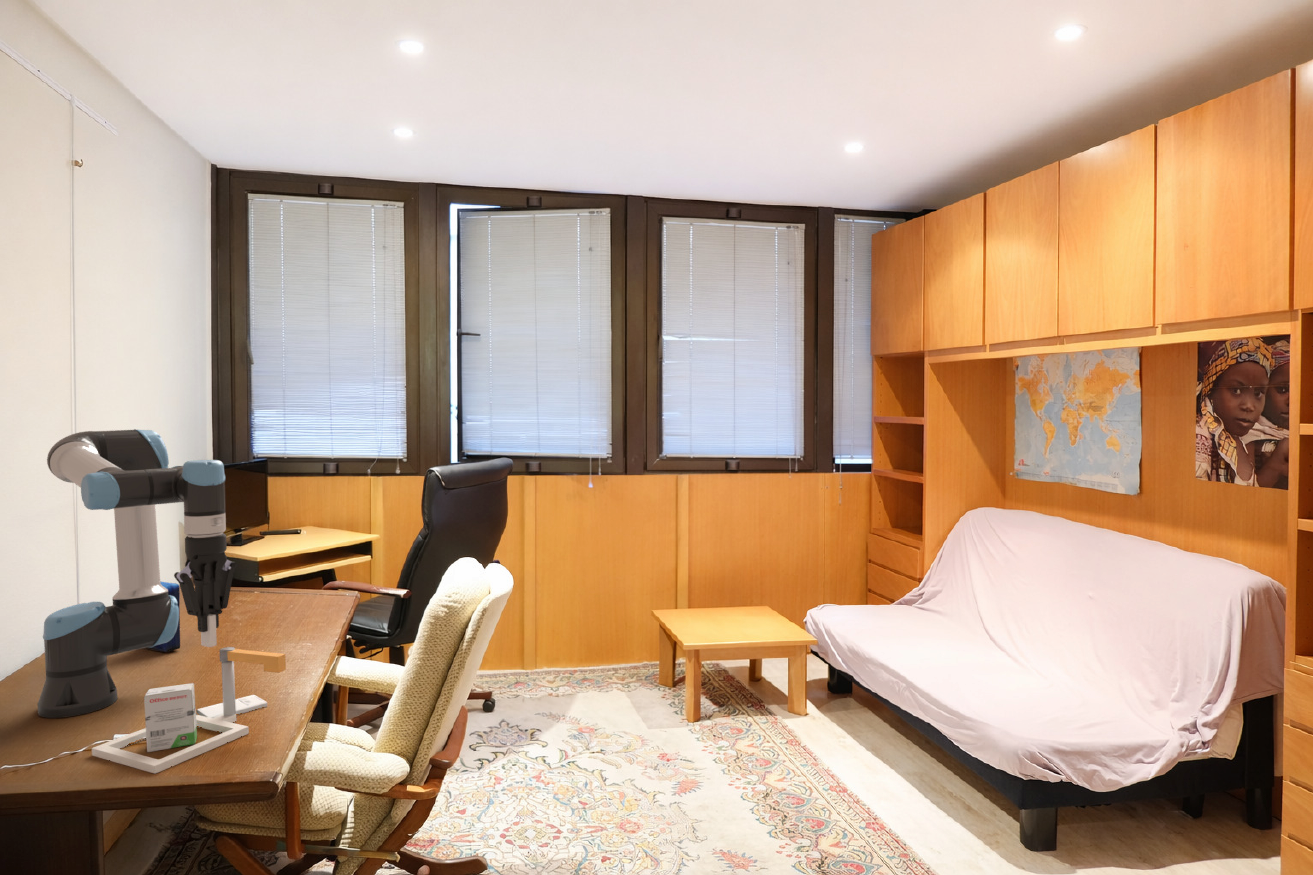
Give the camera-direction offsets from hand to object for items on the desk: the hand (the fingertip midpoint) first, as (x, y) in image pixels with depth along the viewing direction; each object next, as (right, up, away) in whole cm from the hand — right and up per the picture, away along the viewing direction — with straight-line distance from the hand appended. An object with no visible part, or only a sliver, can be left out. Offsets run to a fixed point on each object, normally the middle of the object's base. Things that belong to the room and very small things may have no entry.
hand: (208, 645), depth 166 cm
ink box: (-6, -20, -2) cm, 21 cm away
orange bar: (+6, -7, +7) cm, 11 cm away
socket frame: (-5, -20, 0) cm, 20 cm away
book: (-50, -18, +64) cm, 83 cm away
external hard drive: (-4, -20, +16) cm, 26 cm away
